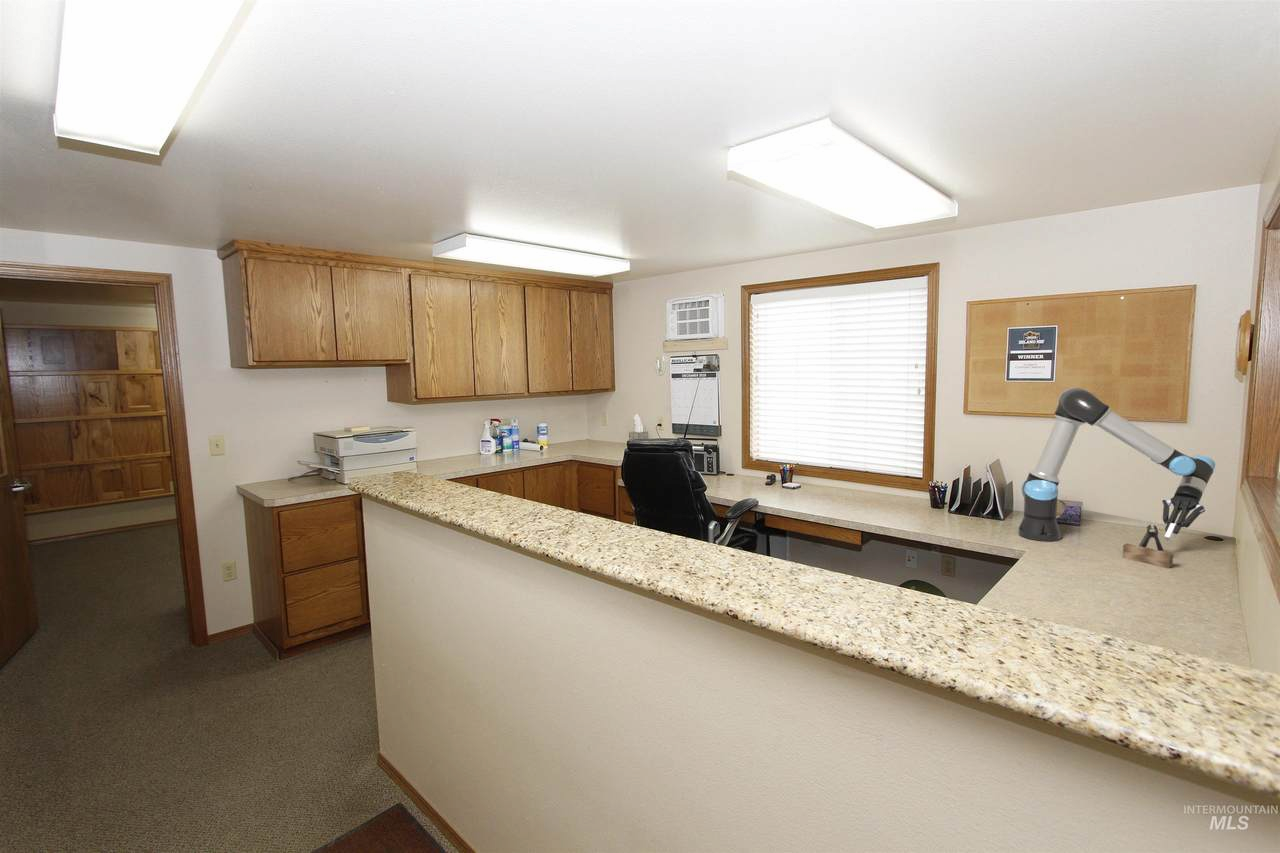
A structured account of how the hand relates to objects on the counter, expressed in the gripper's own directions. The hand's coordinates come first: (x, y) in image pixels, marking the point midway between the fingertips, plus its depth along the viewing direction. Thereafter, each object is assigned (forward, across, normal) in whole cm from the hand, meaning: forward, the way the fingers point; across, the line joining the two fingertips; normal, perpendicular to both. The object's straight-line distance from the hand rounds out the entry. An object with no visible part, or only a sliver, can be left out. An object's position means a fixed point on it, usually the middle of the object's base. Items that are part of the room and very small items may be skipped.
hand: (1167, 538), depth 225 cm
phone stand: (+11, +2, +2) cm, 11 cm away
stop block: (+16, 0, +7) cm, 17 cm away
